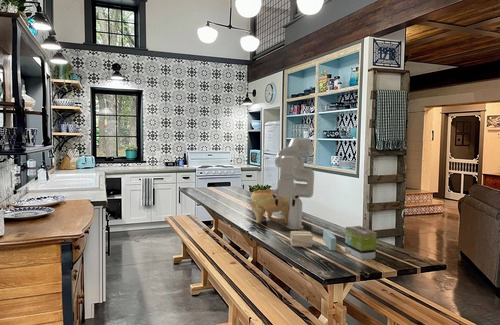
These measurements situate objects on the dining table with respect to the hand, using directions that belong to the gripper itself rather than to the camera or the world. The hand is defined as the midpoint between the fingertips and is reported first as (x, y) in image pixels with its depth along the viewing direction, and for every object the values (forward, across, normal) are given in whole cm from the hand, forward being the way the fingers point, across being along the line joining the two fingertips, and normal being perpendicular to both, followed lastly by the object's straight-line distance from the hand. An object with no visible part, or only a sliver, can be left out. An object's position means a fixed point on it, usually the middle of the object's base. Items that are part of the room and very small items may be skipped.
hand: (284, 206), depth 218 cm
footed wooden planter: (+23, 0, -61) cm, 65 cm away
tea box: (+23, -40, +17) cm, 50 cm away
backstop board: (+23, -28, 0) cm, 36 cm away
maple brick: (+23, -11, -1) cm, 26 cm away
